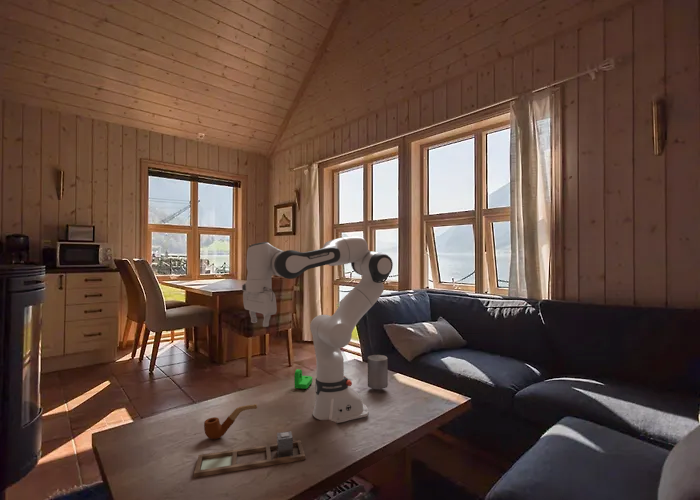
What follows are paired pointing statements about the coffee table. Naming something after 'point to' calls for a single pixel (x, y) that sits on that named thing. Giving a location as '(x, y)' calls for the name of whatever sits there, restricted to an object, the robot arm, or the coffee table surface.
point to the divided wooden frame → (227, 463)
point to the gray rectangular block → (284, 444)
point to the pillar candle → (377, 372)
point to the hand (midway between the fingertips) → (259, 324)
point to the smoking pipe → (216, 429)
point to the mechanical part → (302, 380)
